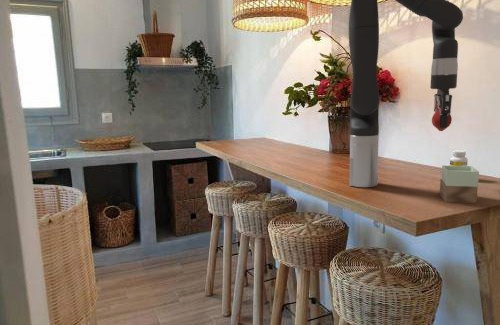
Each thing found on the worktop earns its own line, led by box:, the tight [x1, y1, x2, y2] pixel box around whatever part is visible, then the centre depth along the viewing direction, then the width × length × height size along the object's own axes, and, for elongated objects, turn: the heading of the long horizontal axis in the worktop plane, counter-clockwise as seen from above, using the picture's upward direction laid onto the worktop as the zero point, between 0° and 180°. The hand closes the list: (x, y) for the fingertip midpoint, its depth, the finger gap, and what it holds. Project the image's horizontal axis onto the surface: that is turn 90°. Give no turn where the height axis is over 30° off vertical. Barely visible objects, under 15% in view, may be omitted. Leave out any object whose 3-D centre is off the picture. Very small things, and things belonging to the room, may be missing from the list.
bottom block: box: [439, 179, 479, 204], centre depth 115 cm, size 8×8×5 cm
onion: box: [431, 109, 453, 132], centre depth 128 cm, size 6×6×8 cm
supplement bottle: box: [449, 149, 468, 166], centre depth 138 cm, size 5×5×10 cm
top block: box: [440, 165, 480, 187], centre depth 114 cm, size 8×8×4 cm
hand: (441, 126), depth 128 cm, fingers closed on onion, 6 cm apart
